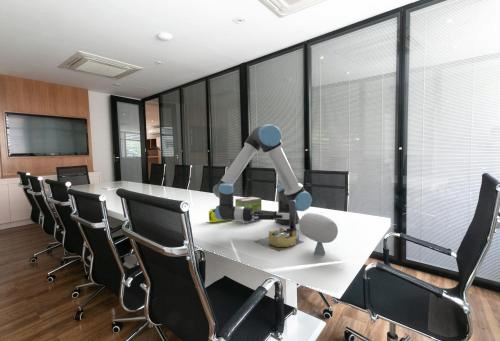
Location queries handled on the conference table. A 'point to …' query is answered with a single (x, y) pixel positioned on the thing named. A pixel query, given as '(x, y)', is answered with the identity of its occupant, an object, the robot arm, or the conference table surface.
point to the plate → (266, 243)
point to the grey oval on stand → (318, 230)
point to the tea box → (249, 204)
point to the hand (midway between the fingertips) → (289, 216)
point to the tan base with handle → (284, 240)
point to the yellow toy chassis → (212, 216)
